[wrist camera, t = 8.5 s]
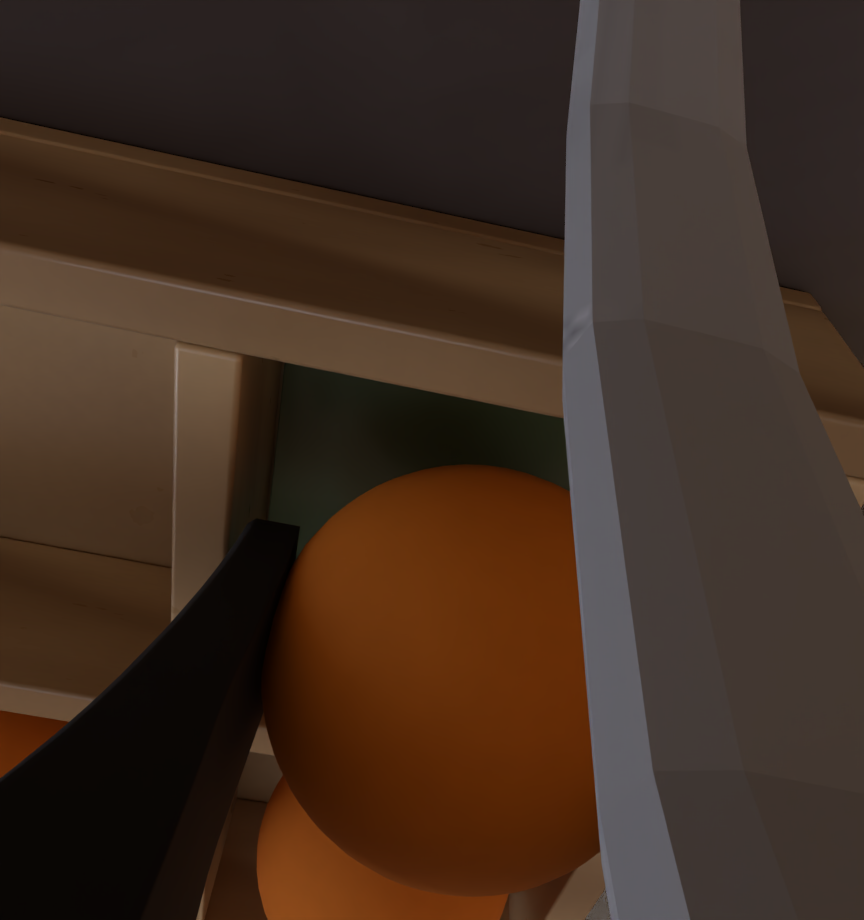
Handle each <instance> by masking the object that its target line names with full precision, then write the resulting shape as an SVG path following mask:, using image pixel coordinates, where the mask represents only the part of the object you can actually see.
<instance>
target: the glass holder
mask: <svg viewBox="0 0 864 920" xmlns="http://www.w3.org/2000/svg"><path fill="white" fill-rule="evenodd" d="M562 402H563V414H564V426H565V438H566V450H567V462H568V473H569V485H570V497H571V509H572V521H573V533H574V544H575V556H576V568H577V580H578V592H579V604H580V615H581V627H582V639H583V651H584V663H585V675H586V686H587V698H588V710H589V722H590V734H591V746H592V757H593V769H594V781H595V793H596V805H597V817H598V829H599V840H600V852H601V863H602V869H603V875H604V881H605V887H606V893H607V899H608V905H609V911H610V917H611V920H864V515H863V513H862V510H861V508H860V506H859V504H858V501H857V499H856V497H855V495H854V493H853V490H852V488H851V486H850V484H849V482H848V479H847V477H846V475H845V473H844V470H843V468H842V466H841V464H840V462H839V459H838V457H837V455H836V453H835V451H834V448H833V446H832V444H831V442H830V439H829V437H828V435H827V433H826V431H825V428H824V426H823V424H822V422H821V419H820V417H819V415H818V413H817V411H816V408H815V406H814V404H813V402H812V400H811V397H810V395H809V393H808V391H807V388H806V386H805V384H804V382H803V380H802V377H801V375H800V373H799V368H798V364H797V360H796V356H795V351H794V347H793V343H792V338H791V334H790V330H789V326H788V321H787V317H786V313H785V309H784V304H783V300H782V296H781V292H780V287H779V283H778V279H777V275H776V270H775V266H774V262H773V258H772V253H771V249H770V245H769V240H768V236H767V232H766V228H765V223H764V219H763V215H762V211H761V206H760V202H759V198H758V194H757V189H756V185H755V181H754V177H753V172H752V168H751V164H750V160H749V155H748V151H747V144H746V122H745V101H744V80H743V58H742V37H741V16H740V0H580V9H579V18H578V28H577V38H576V48H575V57H574V67H573V77H572V86H571V96H570V106H569V116H568V125H567V140H566V196H565V252H564V307H563V388H562Z"/></svg>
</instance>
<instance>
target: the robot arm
mask: <svg viewBox="0 0 864 920" xmlns="http://www.w3.org/2000/svg"><path fill="white" fill-rule="evenodd" d="M299 531H300V526H295V525H290V524H284V523H279V522H274V521H268V520H263V519H258V518H256V519H254V520H252V521H251V522H249V523H247V525H246V527H245V528H244V530H243V532H242V533H241V535H240V536H239V538H238V539H237V541H236V542H235V544H234V545H233V547H232V548H231V549H230V551H229V552H228V554H227V555H226V556H225V558H224V559H223V560H222V562H221V563H220V564H219V566H218V567H217V568H216V569H215V571H214V572H213V573H212V575H211V576H210V577H209V578H208V580H207V581H206V582H205V583H204V585H203V586H202V587H201V588H200V589H199V591H198V592H197V593H196V594H195V595H194V596H193V598H192V599H191V600H190V601H189V602H188V603H187V604H186V606H185V607H184V608H183V609H182V610H181V611H180V613H179V614H178V615H177V616H176V617H175V618H174V619H173V621H172V622H171V623H170V624H169V625H168V626H167V627H166V628H165V629H164V631H163V632H162V633H161V634H160V635H159V636H158V637H157V638H156V639H155V640H154V641H153V642H152V643H151V644H150V645H149V646H148V647H147V648H146V649H145V650H144V651H143V652H142V653H141V654H140V655H139V656H138V657H137V658H136V659H135V660H134V661H133V663H132V664H131V665H130V666H129V667H128V668H127V669H126V670H125V671H124V672H123V673H122V674H121V675H120V676H119V677H118V678H117V679H116V680H114V681H113V682H112V683H111V684H110V685H109V686H108V687H107V688H106V689H105V690H104V691H103V692H102V693H101V694H100V695H99V696H97V697H96V698H95V699H94V700H93V701H92V702H91V703H90V704H89V705H88V706H87V707H85V708H84V709H83V710H82V711H81V712H80V713H79V714H77V715H76V716H75V717H74V718H73V719H72V720H71V721H69V722H68V723H67V724H66V725H65V726H64V727H63V728H62V729H60V730H59V731H58V732H57V733H56V734H54V735H53V736H52V737H51V738H50V739H48V740H47V741H46V742H45V743H43V744H42V745H41V746H40V747H38V748H37V749H36V750H35V751H33V752H32V753H31V754H30V755H29V756H27V757H26V758H25V759H24V760H22V761H21V762H20V763H19V764H17V765H16V766H15V767H14V768H13V769H11V770H10V771H9V772H7V773H6V774H5V775H4V776H2V777H1V778H0V920H196V919H197V915H198V911H199V907H200V903H201V899H202V895H203V891H204V888H205V884H206V880H207V876H208V872H209V869H210V866H211V863H212V859H213V856H214V853H215V850H216V846H217V843H218V840H219V837H220V834H221V831H222V829H223V826H224V823H225V820H226V817H227V814H228V812H229V809H230V806H231V803H232V800H233V797H234V795H235V792H236V789H237V786H238V783H239V780H240V778H241V775H242V772H243V769H244V766H245V763H246V760H247V758H248V755H249V752H250V749H251V746H252V743H253V741H254V738H255V735H256V732H257V729H258V726H259V723H260V721H261V718H262V715H263V712H264V711H263V704H262V696H261V672H262V667H263V661H264V655H265V650H266V646H267V642H268V638H269V634H270V630H271V626H272V621H273V618H274V614H275V611H276V608H277V605H278V602H279V599H280V596H281V593H282V590H283V587H284V585H285V581H286V578H287V575H288V572H289V570H290V568H291V567H292V565H293V563H294V562H295V560H296V553H297V545H298V538H299Z"/></svg>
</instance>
